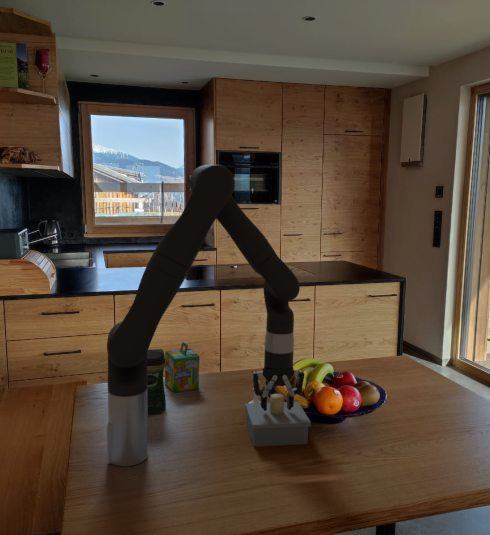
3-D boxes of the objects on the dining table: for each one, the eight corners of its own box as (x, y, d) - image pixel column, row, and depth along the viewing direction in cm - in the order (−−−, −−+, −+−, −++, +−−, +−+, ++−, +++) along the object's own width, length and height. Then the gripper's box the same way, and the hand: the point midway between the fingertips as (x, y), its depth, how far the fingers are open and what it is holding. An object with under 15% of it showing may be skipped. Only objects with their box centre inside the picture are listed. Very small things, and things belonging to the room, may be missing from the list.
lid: (252, 428, 124) (253, 408, 123) (245, 407, 137) (245, 387, 136) (310, 426, 126) (311, 405, 125) (297, 404, 139) (298, 386, 138)
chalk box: (164, 383, 168) (164, 341, 165) (189, 379, 172) (189, 338, 170) (173, 393, 159) (173, 349, 157) (199, 389, 164) (200, 345, 162)
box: (253, 450, 125) (254, 427, 124) (246, 428, 137) (247, 407, 136) (307, 447, 127) (308, 425, 126) (295, 425, 139) (296, 405, 138)
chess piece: (257, 411, 148) (258, 379, 147) (244, 406, 151) (245, 375, 150) (266, 406, 152) (267, 374, 150) (253, 401, 155) (254, 371, 153)
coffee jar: (165, 404, 151) (165, 345, 149) (166, 415, 144) (166, 353, 141) (132, 405, 149) (132, 346, 147) (132, 417, 142) (131, 355, 139)
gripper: (254, 352, 124) (252, 416, 126) (310, 351, 126) (307, 414, 128) (249, 344, 131) (247, 404, 134) (302, 343, 133) (299, 402, 136)
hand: (276, 408), depth 131 cm, fingers open, 6 cm apart
